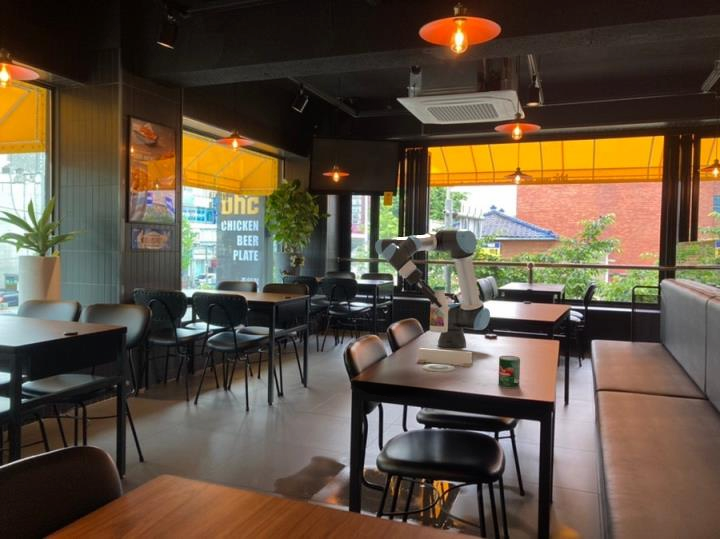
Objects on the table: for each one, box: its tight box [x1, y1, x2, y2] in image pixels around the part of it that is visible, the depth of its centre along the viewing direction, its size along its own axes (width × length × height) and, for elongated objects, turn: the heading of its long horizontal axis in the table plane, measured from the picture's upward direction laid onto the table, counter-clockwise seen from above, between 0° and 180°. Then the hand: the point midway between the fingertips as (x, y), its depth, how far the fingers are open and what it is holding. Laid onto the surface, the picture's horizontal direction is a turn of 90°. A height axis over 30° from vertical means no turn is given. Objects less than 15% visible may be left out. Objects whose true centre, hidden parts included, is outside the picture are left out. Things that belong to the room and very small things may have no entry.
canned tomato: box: [498, 355, 521, 389], centre depth 219 cm, size 8×8×11 cm
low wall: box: [417, 347, 473, 368], centre depth 260 cm, size 24×6×6 cm, turn 69°
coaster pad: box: [422, 363, 456, 373], centre depth 249 cm, size 14×14×1 cm
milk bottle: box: [429, 285, 449, 334], centre depth 248 cm, size 8×8×20 cm
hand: (447, 311), depth 247 cm, fingers closed on milk bottle, 7 cm apart
